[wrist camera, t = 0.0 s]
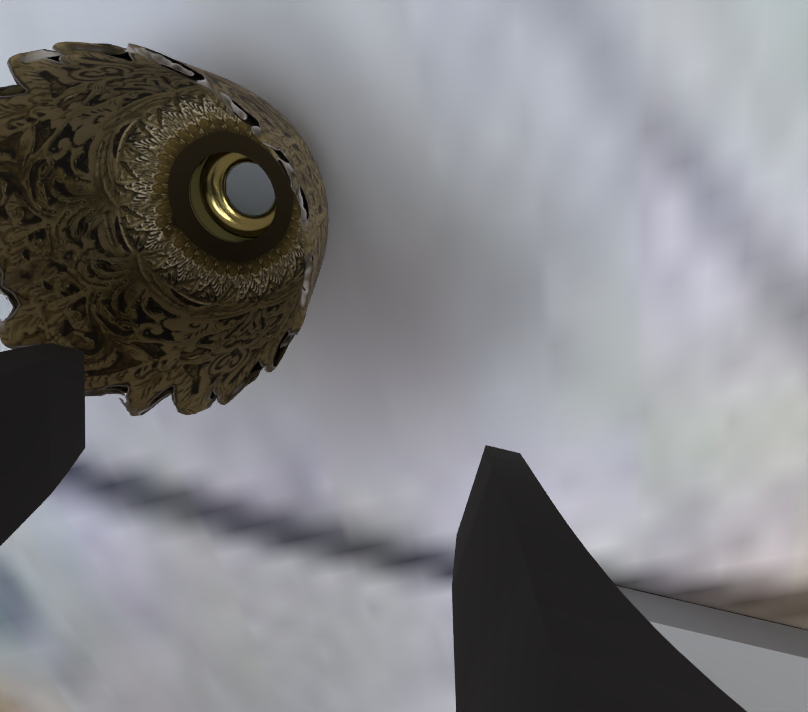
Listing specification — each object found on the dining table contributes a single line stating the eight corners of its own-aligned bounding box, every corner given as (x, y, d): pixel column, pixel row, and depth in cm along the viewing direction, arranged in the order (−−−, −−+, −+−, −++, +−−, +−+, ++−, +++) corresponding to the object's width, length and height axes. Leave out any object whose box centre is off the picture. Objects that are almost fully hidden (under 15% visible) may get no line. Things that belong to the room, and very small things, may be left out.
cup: (396, 272, 20) (357, 382, 13) (194, 323, 21) (52, 449, 14) (322, 22, 17) (216, -24, 10) (95, 100, 18) (-145, 111, 11)
